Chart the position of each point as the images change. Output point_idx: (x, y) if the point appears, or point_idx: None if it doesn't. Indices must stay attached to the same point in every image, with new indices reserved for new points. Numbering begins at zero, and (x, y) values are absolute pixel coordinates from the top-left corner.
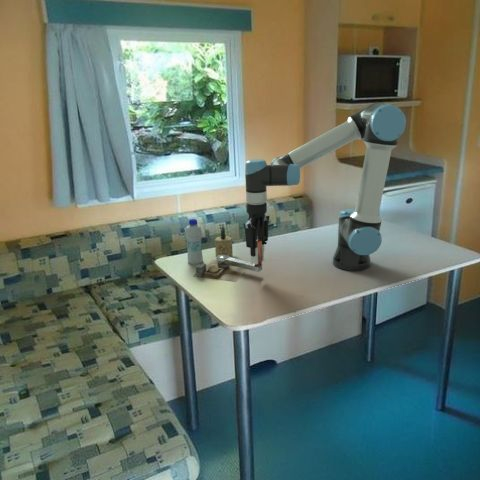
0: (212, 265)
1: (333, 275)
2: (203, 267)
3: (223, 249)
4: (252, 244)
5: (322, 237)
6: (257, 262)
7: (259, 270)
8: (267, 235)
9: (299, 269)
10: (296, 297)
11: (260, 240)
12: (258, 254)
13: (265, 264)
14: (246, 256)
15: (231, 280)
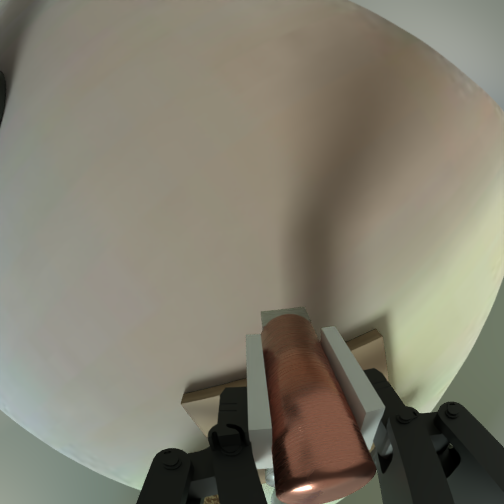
0: (370, 450)
1: (47, 84)
2: None
3: (218, 500)
4: (463, 426)
5: None
6: (332, 332)
7: (289, 310)
8: (150, 499)
9: (62, 224)
10: (318, 49)
11: (298, 482)
12: (330, 370)
13: (124, 370)
14: (134, 442)
15: (378, 356)
